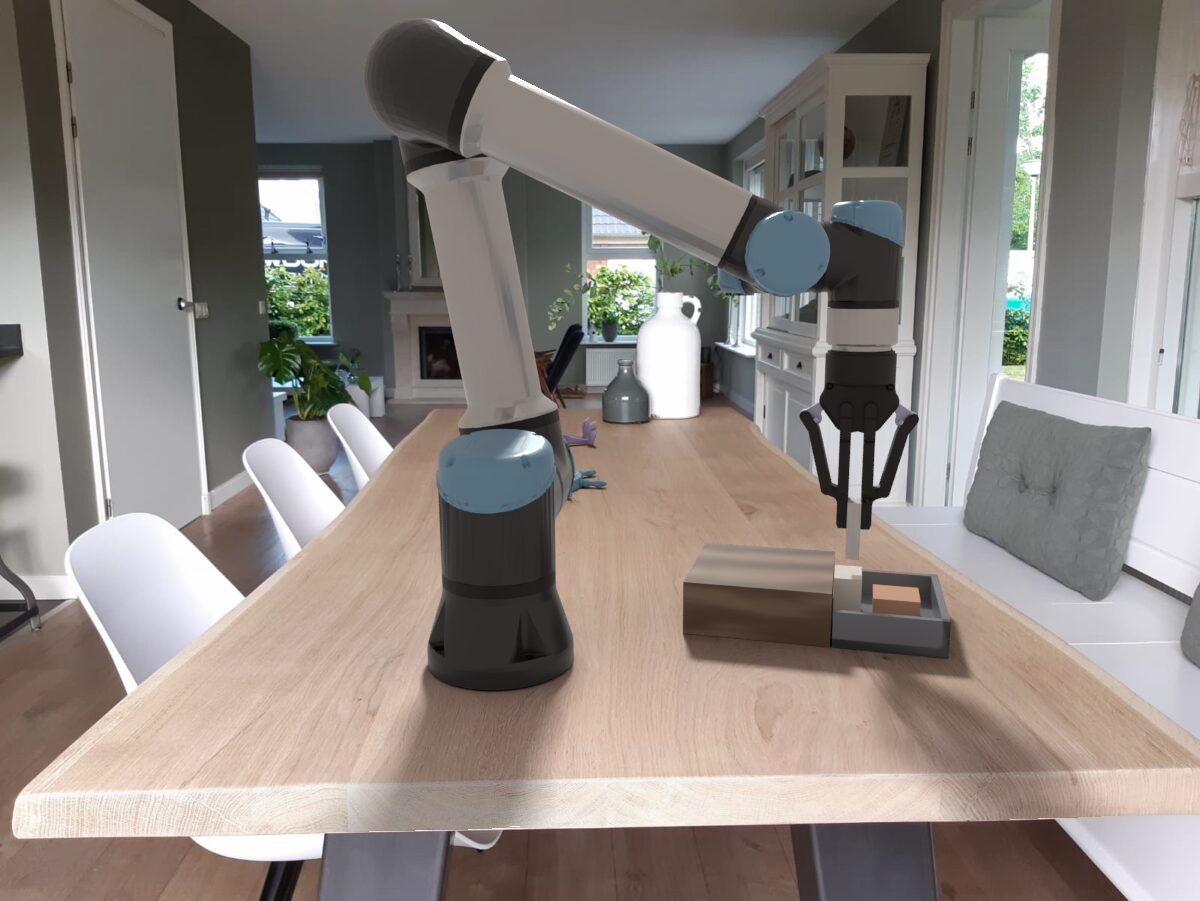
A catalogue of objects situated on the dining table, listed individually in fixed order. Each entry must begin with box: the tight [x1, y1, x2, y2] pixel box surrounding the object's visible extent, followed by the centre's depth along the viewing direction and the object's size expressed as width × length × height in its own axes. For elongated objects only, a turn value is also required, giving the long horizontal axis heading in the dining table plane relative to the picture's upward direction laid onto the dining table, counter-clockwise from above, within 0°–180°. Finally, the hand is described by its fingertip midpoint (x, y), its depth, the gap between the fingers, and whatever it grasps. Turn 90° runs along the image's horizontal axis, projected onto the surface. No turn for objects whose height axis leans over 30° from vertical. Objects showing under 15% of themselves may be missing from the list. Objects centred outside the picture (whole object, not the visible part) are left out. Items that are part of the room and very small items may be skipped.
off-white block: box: [832, 564, 863, 612], centre depth 105 cm, size 5×5×3 cm
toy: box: [563, 416, 598, 446], centre depth 219 cm, size 26×9×30 cm
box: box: [831, 568, 952, 659], centre depth 104 cm, size 16×12×4 cm
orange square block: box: [872, 584, 921, 617], centre depth 104 cm, size 5×5×3 cm
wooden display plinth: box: [682, 542, 836, 648], centre depth 108 cm, size 16×16×6 cm
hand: (852, 555), depth 104 cm, fingers closed
